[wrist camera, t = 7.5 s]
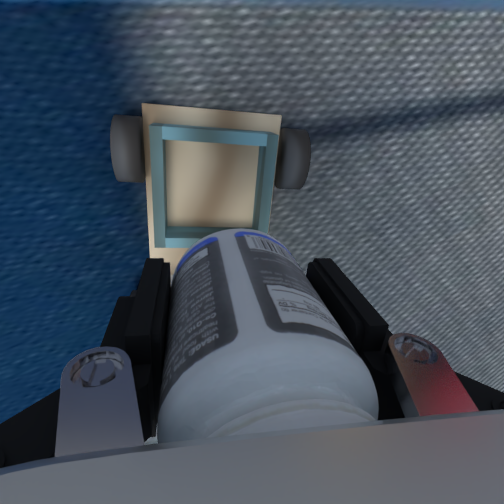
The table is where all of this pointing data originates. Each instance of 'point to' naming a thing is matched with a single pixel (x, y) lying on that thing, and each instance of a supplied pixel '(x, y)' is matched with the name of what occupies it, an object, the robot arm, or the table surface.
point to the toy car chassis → (205, 170)
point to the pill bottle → (254, 346)
